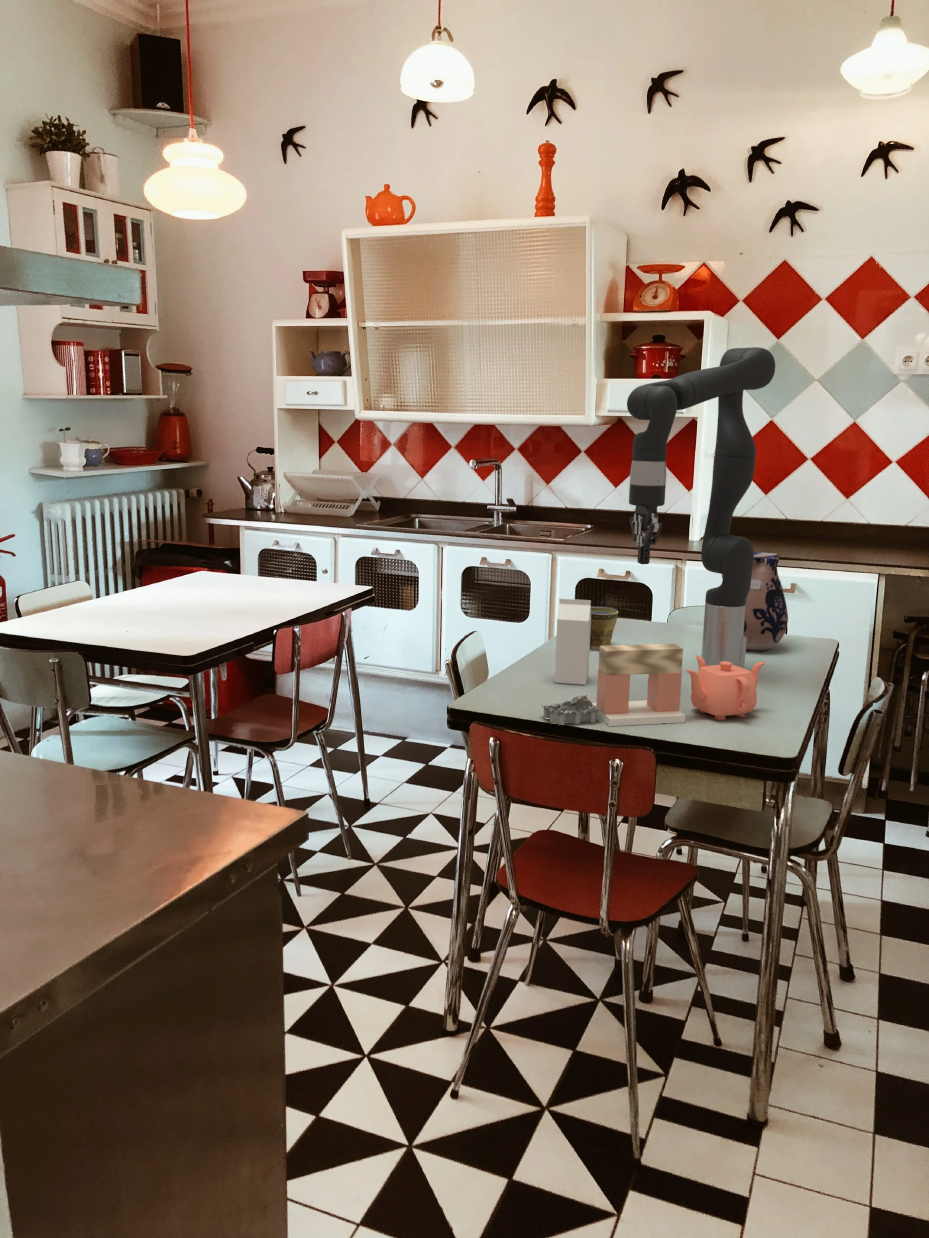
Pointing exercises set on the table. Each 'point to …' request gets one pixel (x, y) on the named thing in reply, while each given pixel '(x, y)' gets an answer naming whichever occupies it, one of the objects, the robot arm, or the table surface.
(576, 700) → the egg carton
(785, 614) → the ceramic pitcher
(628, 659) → the oak beam
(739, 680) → the teapot
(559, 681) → the milk carton
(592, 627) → the ceramic cup
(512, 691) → the table surface
